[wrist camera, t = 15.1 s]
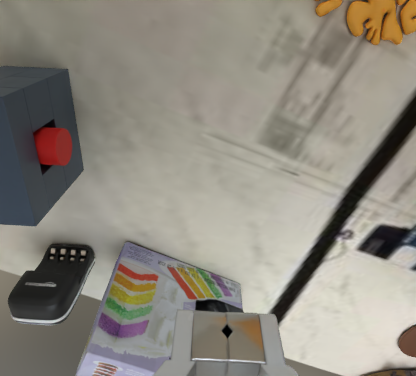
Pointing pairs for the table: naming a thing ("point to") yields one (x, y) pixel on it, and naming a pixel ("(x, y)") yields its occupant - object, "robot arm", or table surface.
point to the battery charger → (51, 285)
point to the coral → (376, 18)
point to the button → (53, 145)
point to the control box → (33, 142)
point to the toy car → (408, 342)
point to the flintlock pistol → (395, 373)
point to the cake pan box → (149, 311)
